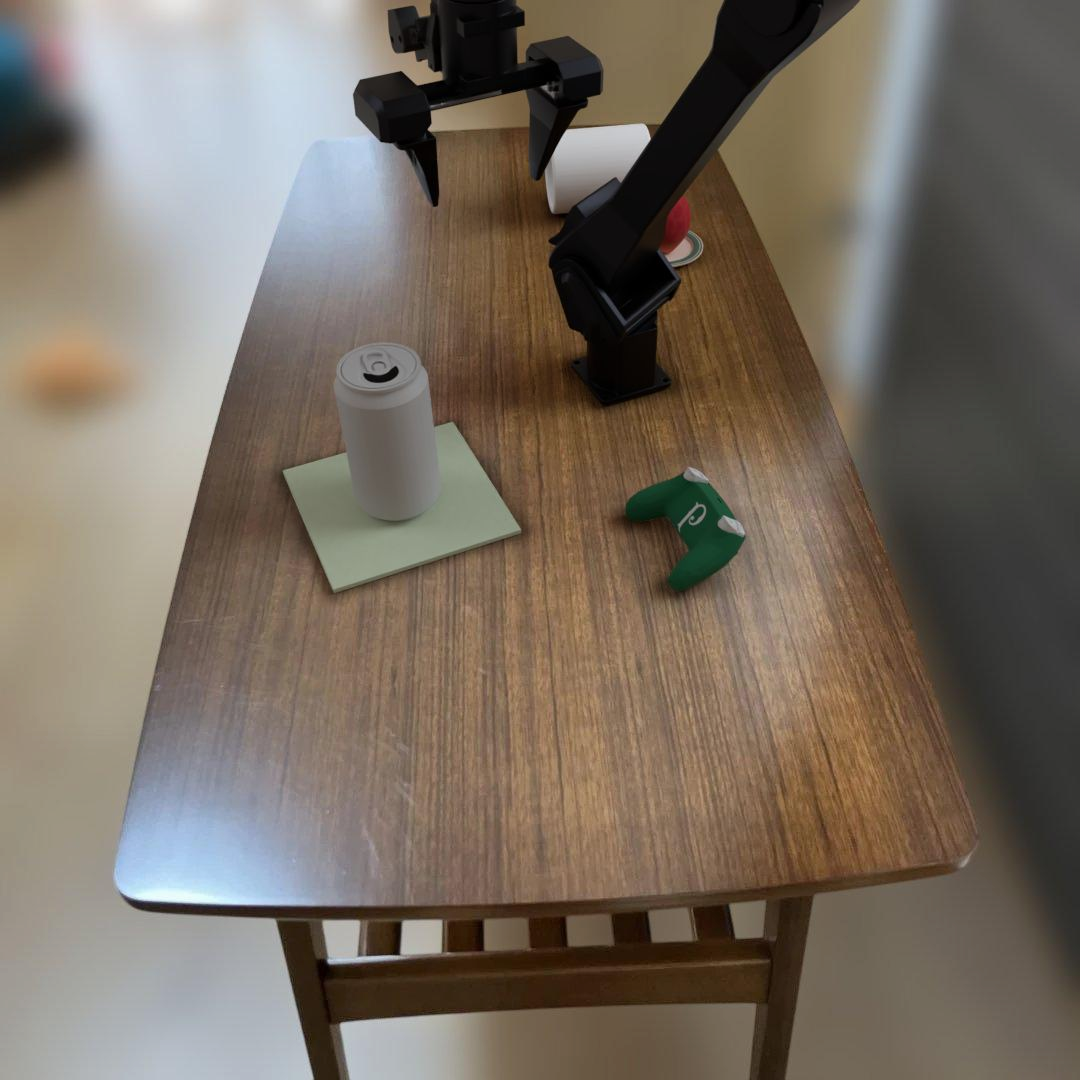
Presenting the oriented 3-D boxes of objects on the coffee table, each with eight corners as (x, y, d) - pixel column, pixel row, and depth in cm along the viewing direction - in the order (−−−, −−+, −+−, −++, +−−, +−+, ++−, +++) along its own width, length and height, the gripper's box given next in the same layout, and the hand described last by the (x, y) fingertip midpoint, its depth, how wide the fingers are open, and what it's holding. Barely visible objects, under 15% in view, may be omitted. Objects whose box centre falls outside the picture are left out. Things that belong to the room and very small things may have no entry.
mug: (652, 220, 113) (655, 143, 108) (554, 228, 113) (553, 152, 107) (630, 167, 122) (632, 94, 117) (540, 175, 121) (537, 102, 116)
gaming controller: (702, 608, 77) (764, 549, 75) (668, 591, 75) (732, 529, 73) (648, 523, 84) (704, 466, 82) (615, 505, 81) (672, 446, 79)
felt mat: (521, 533, 81) (521, 529, 80) (333, 593, 77) (333, 589, 77) (453, 425, 90) (453, 421, 90) (283, 474, 86) (282, 470, 86)
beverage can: (367, 537, 80) (342, 402, 72) (347, 482, 85) (321, 349, 76) (452, 514, 82) (437, 380, 73) (428, 462, 86) (411, 329, 78)
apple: (709, 269, 106) (714, 205, 102) (625, 274, 106) (627, 210, 101) (695, 228, 112) (700, 166, 107) (615, 232, 112) (617, 170, 107)
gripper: (539, -63, 88) (540, 128, 99) (314, -24, 82) (341, 176, 93) (610, -20, 81) (603, 181, 92) (370, 27, 75) (393, 236, 86)
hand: (485, 191), depth 91 cm, fingers open, 9 cm apart
